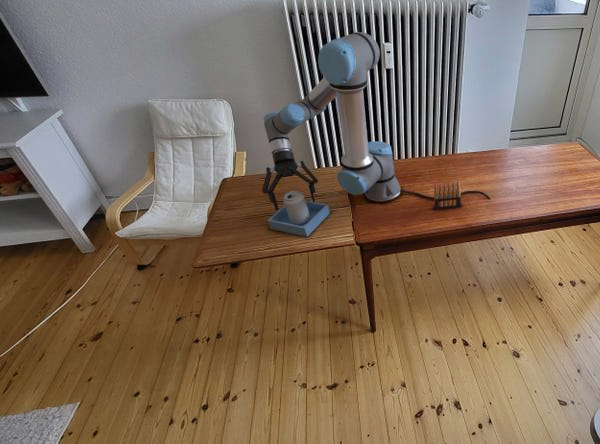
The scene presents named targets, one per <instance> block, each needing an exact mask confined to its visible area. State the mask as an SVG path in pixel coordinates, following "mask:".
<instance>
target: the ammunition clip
mask: <svg viewBox="0 0 600 444" xmlns="http://www.w3.org/2000/svg"><path fill="white" fill-rule="evenodd" d="M460 193H461V185H460V181H457V182H456V183H455V181H453V182H452V185H451V182H448V183H446V182H443V185H442V182H440V183H439V185H438V184H437V183H435V184H434V191H433V197H435V199H434V210H435V211H436V210H437V211H438V210H446V209H447V210H448V209H456V208H457V209H459V208H461V207H462V201H461V199H462V198H461V195H460Z"/></svg>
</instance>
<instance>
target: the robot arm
mask: <svg viewBox="0 0 600 444" xmlns="http://www.w3.org/2000/svg"><path fill="white" fill-rule="evenodd" d="M380 55H381V52H380V47H379V45H378V42H377V41H376V39H375V38H374V37H372V35H370V34H368V33H366V32H363V31H355V32H353V33H349V34H348V35H345V36H342V37H339V38H333V39H332V40H330V41H329V42H327V43H326V44H325V43H324V44H323V46H322V47H321V48H320V50H319V53H318V56H317V57H318V58H317V63H318V69H319V71H320V73H321V75H322V76H324V77H323V78H322V79H321V80H320V81H319V82H318V83H317V84H316V85H315V86H314V87H313V89H311V91H309V93H308V94H307V95H305V96H304V97H303V98H302V99H300V100H298V101H296V102H294V103H292V102H291V103H287V104H286V105H285V106H283V107H282V108H281V109H280V111H279V112H269V113H268V114H265V115H264V116H263V124H264V129H265V133H266V137H267V140H268V143H269V144H268V145H269V149H270V152H271V154H272V155H271V156H272V157H271V158H272V161H273V163H274V167H269V166H266V168H265V170H266V174H265V178H264V181H263V185H262V188H261V192H262V193H263V194H267V195H268V199H269V202H271V203H273V207H274V210H276V211H279V206H278V202H277V197H276V194H275V193H274V191H275V189H276V188H277V186H278V185H279V182H280V181H281V180H282V178H288V177H293V176H294V175H295V176H296V177H299V178H300V179H301V180H303V181H304V182H306V183H307V184H308V189H309V193H310V197H311V200H312V201H311V202H316V200H315V195H314V194H315V193H316V187H315V185H316V184H318V183H319V180H318V178H317V177H316V176H315V175H314V173H312V171H310V169H309V168H308V167H307V165H306V164H305V161H303V160H301V161H300V162H296V159H295V156H294V152H293V148H292V144H291V140H290V135H289V134H290V133H291V132H292V131H293V130H295V129H296V128H297V127H299V126H301V125H302V124H304V123H306V122H307V121H309V120H311V119H313V118H314V117H316V116H318V115H320V114H322V113H323V112H324V111H326V109H327V106H328V105H329V104H330V103H331V102H332V101H333V100H335V99H336V104H337V110H338V111H337V112H338V118H339V125H340V132H341V139H342V147H343V152H344V154H343V155H342V156H341V157H340V159H341V160H340V162H341V169H340V170H339V171H338V173H337V175H336V177H337V178H336V179H337V182H338V184H339V185H340V187H341V188H342V189H343V190H344V191H346V192H347V193H349V194H350V195H354V196H361V195H363V194H365V198H366V199H367V200H368V201H370V202H372V203H377V204H385V203H390V202H392V201H395V200H396V199H398V198H399V197H400V196H401V194H402V193H403V194H409V195H413V196H414V195H415V196H419V197H421V198H423V199H428V200H435V197H434V196H427V195H425V194H422V193H419V192H415V191H412V190H411V191H410V190H404V189H401V185H400V183H399V181H398V179H397V177H396V175H395V174H396V173H395V167H394V158H393V151H392V146H391V145H390V144H389V143H388V142H385V141H380V140H379V141H368V130H367V121H366V111H365V99H364V89H365V88H366V87H367V85H368V81H367V73H368V72H369V71H370V70H372V69H374V68H375V67H376V66H377V64H378V62H379V60H380ZM298 168H300V169H303V171H304V172H305V173H306V174H307V176H309V178H308V177H307V176H305V175H304V174H303V173H301V172H300V171H299V170H297V169H298ZM274 172H275V173H276V174H275V177H274V178H273V180H272V182H271V179H272V175H273V174H274ZM270 182H271V184H270ZM465 194H479V195H482V196H484V197H485V198H486V199H488V200H491V199H492V198H491V197H490V195H488V194H486V193H485V192H483V191H480V190H465V191H462V192H461V191H460V196H463V195H465Z"/></svg>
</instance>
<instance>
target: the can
mask: <svg viewBox="0 0 600 444" xmlns="http://www.w3.org/2000/svg"><path fill="white" fill-rule="evenodd" d="M282 201H283V205H285V207H286V210H287V213H288V216H289V218H290V221H291V223H293V224H297V225H300V224H304V223H306V222H307V221H308V220H309V218H310V214H309V211H308V208H307V205H306V201H307V200H306V198H305V196H304V194H303V193H302V192H301V191H299V190H290V191H288V192H286V193H285V194H284V196H283V199H282Z"/></svg>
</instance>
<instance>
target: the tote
mask: <svg viewBox="0 0 600 444" xmlns="http://www.w3.org/2000/svg"><path fill="white" fill-rule="evenodd" d="M305 201H306V205H307V208H308V211H309V214H310V218H309V220H308V221H307V222H306V223H304V224H300V225H297V224H293V223H291V221H290V218H289V216H288V213H287V210H286V207H285V204H283V206H282V207H281V208H279V209H278V210H277V211H276V212H275V213H273V215H272V216H271V217H269V218H268V219H267V223H268V226H269V228H270V230H273V231H280V232H282V233H283V232H284V233H288V234H293V235H298V236H302V237H306V238H308V237H309V236H310V235H311V233H313V231H315V229H317V227H318V226H319V225H320V224H321V223H322V222H323V221H324V220H325V219H326V218H327V217H328V216H329V215H330V214H331V211H330V208H329V205H328V204H326V203H320V202H316V201H315V202H313V201H310V200H305Z"/></svg>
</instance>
